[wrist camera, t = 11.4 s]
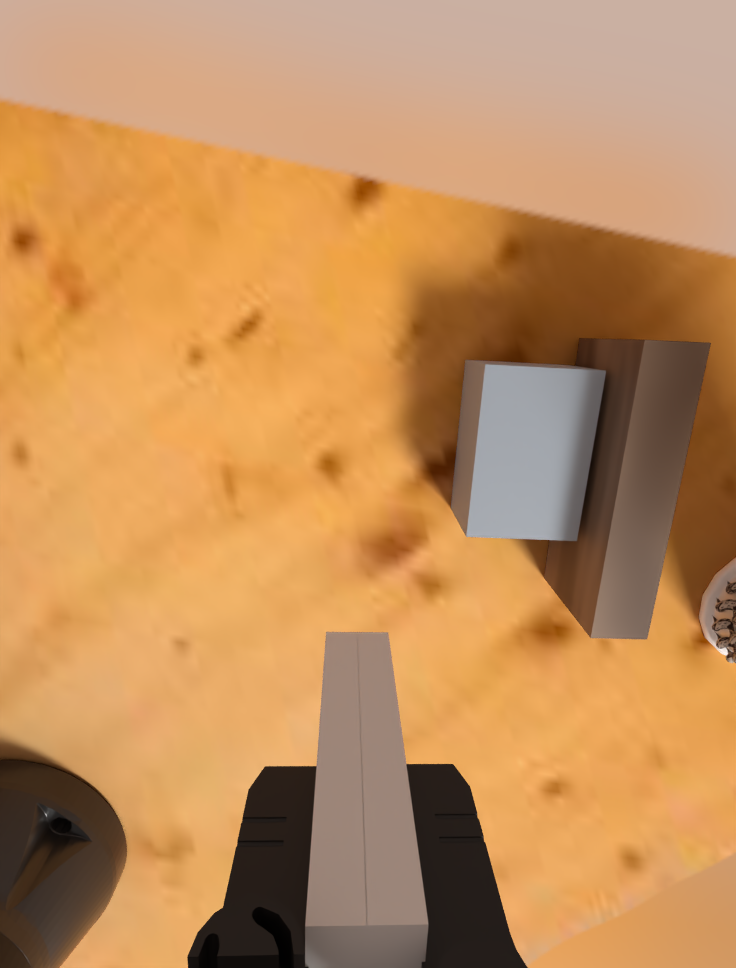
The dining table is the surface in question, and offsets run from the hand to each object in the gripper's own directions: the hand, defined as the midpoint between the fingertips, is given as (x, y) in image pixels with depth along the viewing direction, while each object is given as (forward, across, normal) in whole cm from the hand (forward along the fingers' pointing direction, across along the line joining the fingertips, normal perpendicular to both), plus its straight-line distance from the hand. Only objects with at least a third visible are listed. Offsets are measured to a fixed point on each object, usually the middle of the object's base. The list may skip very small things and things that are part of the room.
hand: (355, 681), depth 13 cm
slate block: (+20, +9, +2) cm, 22 cm away
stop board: (+20, +14, +1) cm, 24 cm away
